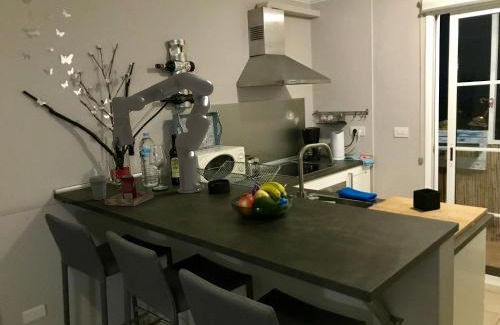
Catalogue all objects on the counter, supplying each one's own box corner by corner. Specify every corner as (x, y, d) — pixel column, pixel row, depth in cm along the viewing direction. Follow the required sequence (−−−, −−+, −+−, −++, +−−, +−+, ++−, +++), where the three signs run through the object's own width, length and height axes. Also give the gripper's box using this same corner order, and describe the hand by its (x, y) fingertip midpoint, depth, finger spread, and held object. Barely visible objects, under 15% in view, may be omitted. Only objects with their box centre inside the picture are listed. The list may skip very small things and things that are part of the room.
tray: (154, 197, 214) (153, 192, 213) (134, 206, 198) (133, 200, 197) (126, 196, 219) (125, 191, 219) (104, 204, 203) (104, 199, 203)
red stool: (133, 201, 204) (130, 177, 203) (120, 201, 206) (117, 177, 204) (139, 197, 211) (137, 174, 209) (127, 197, 212) (124, 174, 211)
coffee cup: (105, 200, 212) (102, 177, 210) (88, 201, 212) (86, 178, 211) (111, 197, 221) (108, 174, 219) (95, 197, 221) (92, 175, 219)
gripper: (126, 121, 212) (129, 154, 215) (104, 124, 196) (108, 159, 199) (138, 120, 209) (142, 154, 212) (117, 123, 193) (121, 159, 196)
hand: (125, 157), depth 205 cm, fingers open, 9 cm apart
